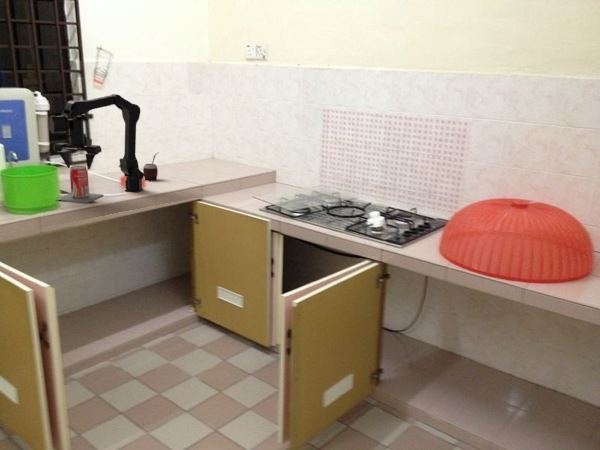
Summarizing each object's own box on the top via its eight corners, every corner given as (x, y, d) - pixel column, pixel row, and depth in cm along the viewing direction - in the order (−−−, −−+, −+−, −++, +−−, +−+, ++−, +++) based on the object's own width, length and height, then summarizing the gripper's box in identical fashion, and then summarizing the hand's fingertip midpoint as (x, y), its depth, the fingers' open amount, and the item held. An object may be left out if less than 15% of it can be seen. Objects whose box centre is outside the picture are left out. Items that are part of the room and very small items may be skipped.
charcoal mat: (103, 195, 242) (103, 194, 242) (86, 203, 229) (86, 201, 229) (74, 193, 244) (73, 191, 244) (55, 200, 231) (55, 199, 230)
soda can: (92, 195, 239) (90, 166, 235) (84, 199, 232) (82, 169, 229) (76, 194, 240) (74, 165, 236) (68, 198, 233) (66, 168, 229)
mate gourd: (143, 178, 280) (142, 149, 276) (159, 178, 282) (159, 149, 278) (143, 181, 273) (142, 151, 269) (159, 181, 275) (158, 152, 271)
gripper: (106, 130, 235) (108, 166, 240) (66, 128, 238) (69, 163, 242) (93, 134, 225) (95, 171, 229) (51, 130, 227) (54, 168, 231)
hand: (78, 168), depth 233 cm, fingers open, 9 cm apart
